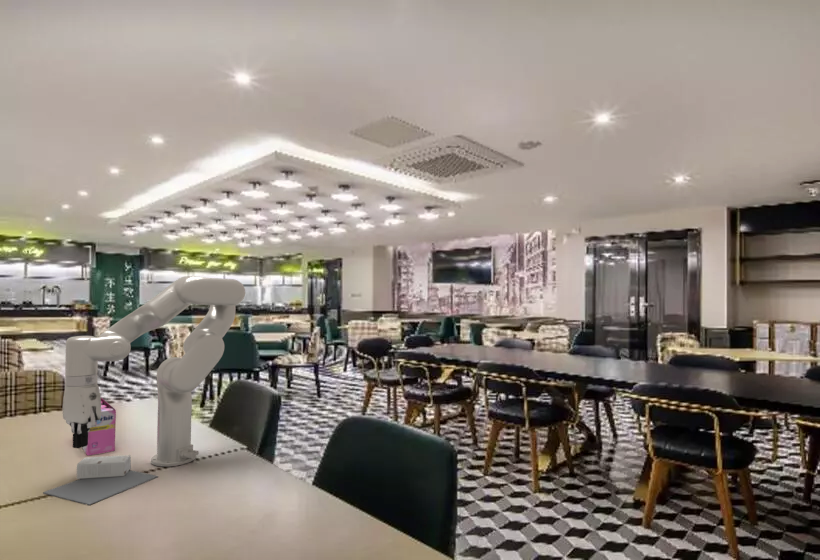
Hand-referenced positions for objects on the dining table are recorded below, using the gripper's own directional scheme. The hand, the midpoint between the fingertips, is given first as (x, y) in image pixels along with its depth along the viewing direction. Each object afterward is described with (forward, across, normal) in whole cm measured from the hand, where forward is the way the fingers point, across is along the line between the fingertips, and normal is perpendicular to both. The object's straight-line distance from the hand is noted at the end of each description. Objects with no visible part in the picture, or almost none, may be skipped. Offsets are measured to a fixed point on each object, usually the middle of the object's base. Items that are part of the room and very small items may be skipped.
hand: (80, 446), depth 139 cm
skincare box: (+7, +2, -1) cm, 7 cm away
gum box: (+9, +25, -22) cm, 34 cm away
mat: (+9, -10, 0) cm, 13 cm away
